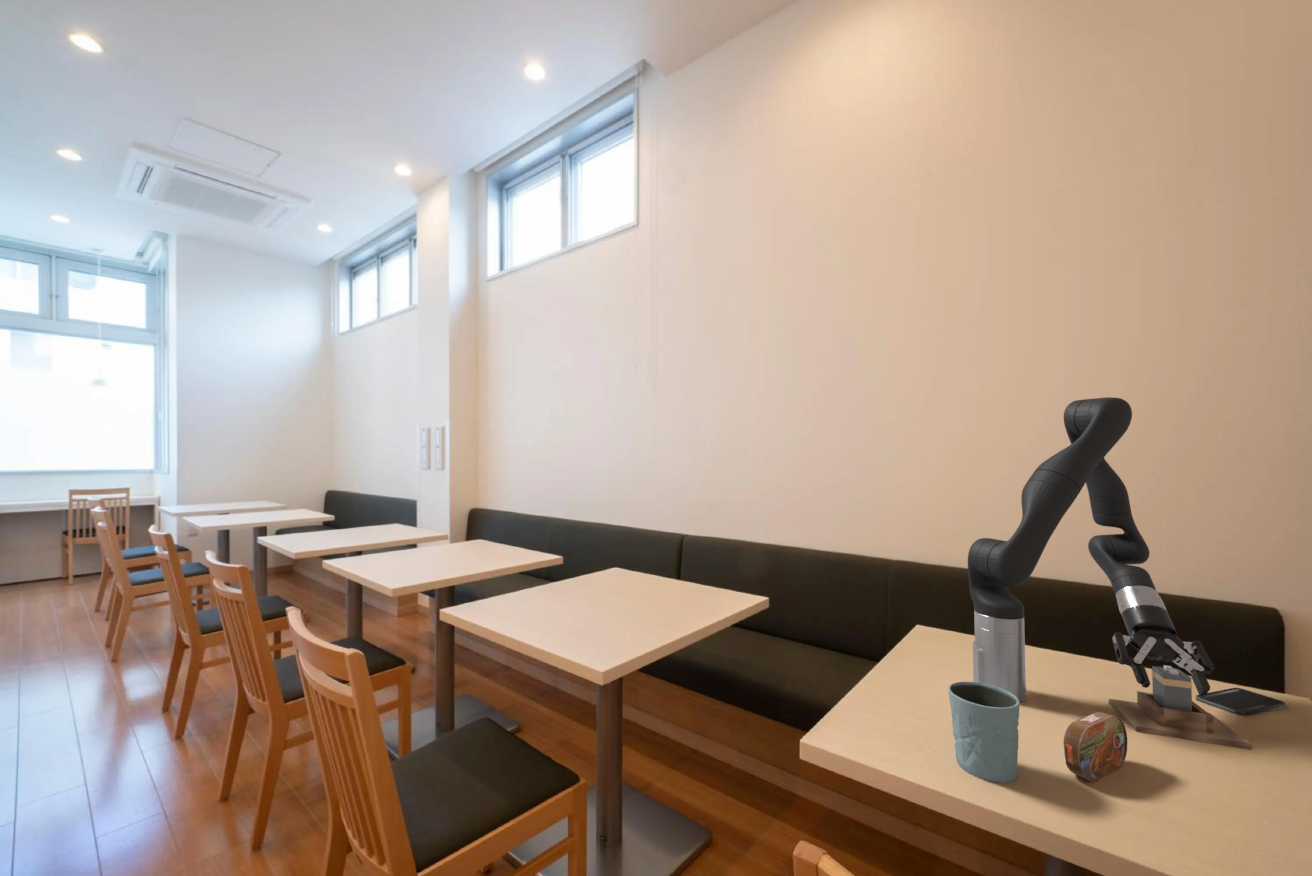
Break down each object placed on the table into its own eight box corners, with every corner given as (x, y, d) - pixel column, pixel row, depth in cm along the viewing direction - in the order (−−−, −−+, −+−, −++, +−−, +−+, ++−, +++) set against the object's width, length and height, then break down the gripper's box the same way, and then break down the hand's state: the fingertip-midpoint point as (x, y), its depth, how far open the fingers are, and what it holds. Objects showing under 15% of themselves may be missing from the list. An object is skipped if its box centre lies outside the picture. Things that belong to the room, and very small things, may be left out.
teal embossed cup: (1023, 793, 80) (1021, 714, 80) (947, 772, 85) (946, 697, 86) (1019, 761, 89) (1017, 689, 89) (950, 743, 94) (949, 675, 94)
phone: (1193, 695, 112) (1237, 687, 116) (1193, 701, 112) (1237, 692, 116) (1243, 713, 104) (1289, 703, 108) (1243, 719, 104) (1289, 708, 108)
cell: (1165, 722, 100) (1163, 671, 100) (1152, 711, 104) (1151, 662, 104) (1193, 726, 98) (1191, 674, 99) (1179, 715, 102) (1178, 665, 103)
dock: (1136, 731, 98) (1135, 709, 99) (1108, 703, 109) (1108, 684, 110) (1251, 749, 92) (1250, 726, 93) (1209, 718, 104) (1208, 697, 104)
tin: (1082, 788, 81) (1081, 733, 82) (1060, 777, 84) (1058, 724, 85) (1130, 763, 88) (1129, 712, 88) (1107, 754, 91) (1106, 704, 91)
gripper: (1107, 600, 112) (1134, 675, 101) (1194, 607, 106) (1233, 687, 95) (1097, 618, 116) (1122, 691, 105) (1180, 626, 111) (1216, 704, 100)
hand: (1175, 689), depth 100 cm, fingers open, 8 cm apart
